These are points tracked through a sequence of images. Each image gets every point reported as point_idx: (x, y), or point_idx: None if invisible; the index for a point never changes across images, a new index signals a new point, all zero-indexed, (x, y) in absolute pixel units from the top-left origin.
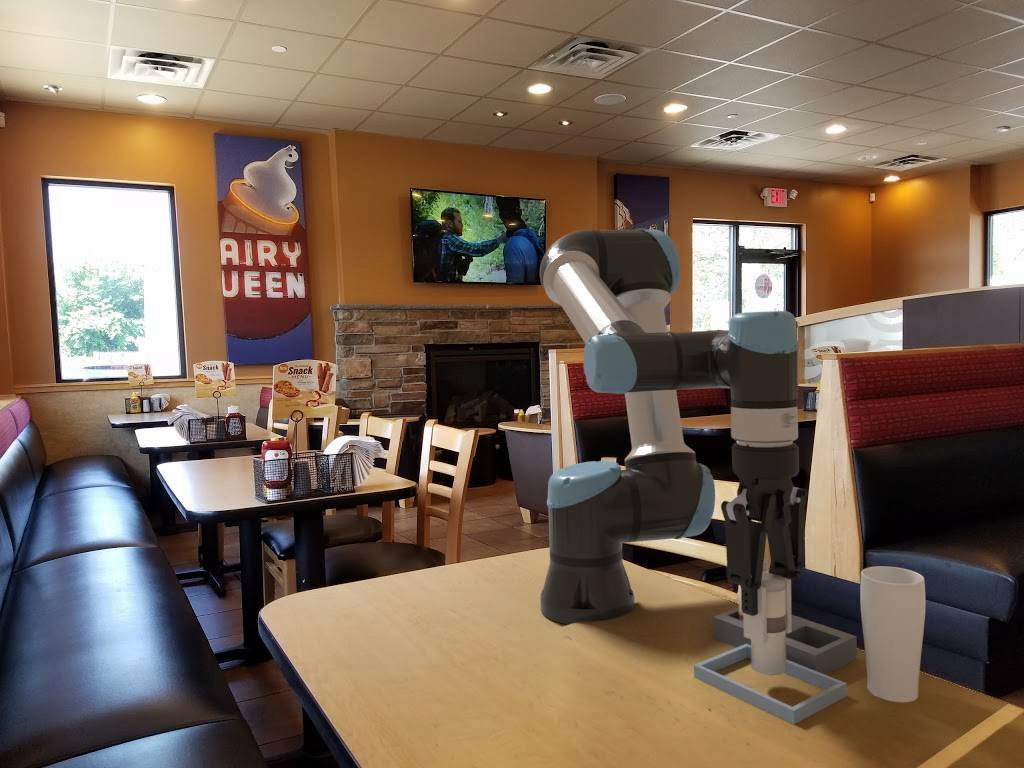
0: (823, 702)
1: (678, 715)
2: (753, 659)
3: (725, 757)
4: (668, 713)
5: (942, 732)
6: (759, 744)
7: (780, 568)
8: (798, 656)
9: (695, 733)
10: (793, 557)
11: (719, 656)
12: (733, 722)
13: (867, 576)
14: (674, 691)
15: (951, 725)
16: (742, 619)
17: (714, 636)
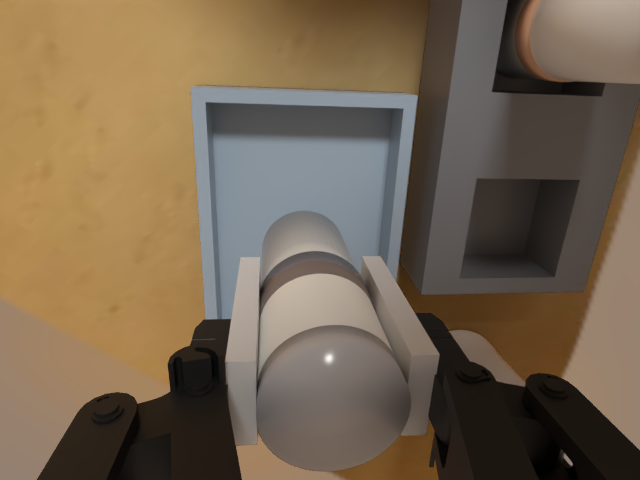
0: None
1: (60, 161)
2: (264, 245)
3: (42, 314)
4: (44, 141)
5: (398, 441)
6: (130, 321)
7: (447, 421)
8: (420, 244)
9: (45, 232)
10: (556, 452)
11: (292, 98)
12: (147, 250)
13: None
14: (130, 74)
15: (428, 438)
16: (519, 15)
17: None
